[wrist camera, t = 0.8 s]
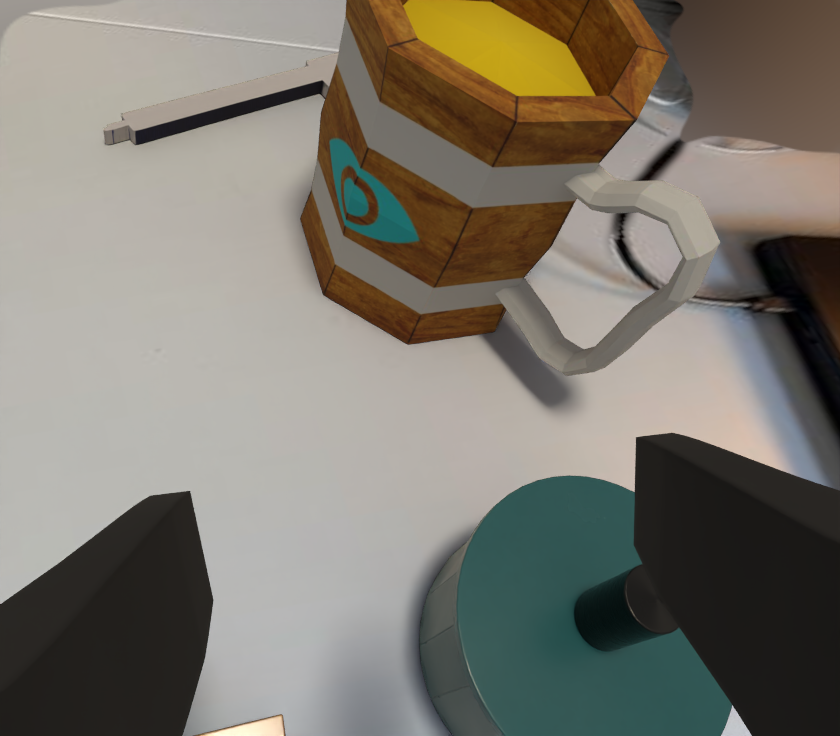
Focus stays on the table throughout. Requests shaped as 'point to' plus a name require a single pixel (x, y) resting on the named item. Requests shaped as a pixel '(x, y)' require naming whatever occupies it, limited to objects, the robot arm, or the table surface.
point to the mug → (484, 165)
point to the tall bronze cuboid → (253, 728)
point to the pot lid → (574, 622)
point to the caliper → (222, 103)
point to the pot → (448, 659)
